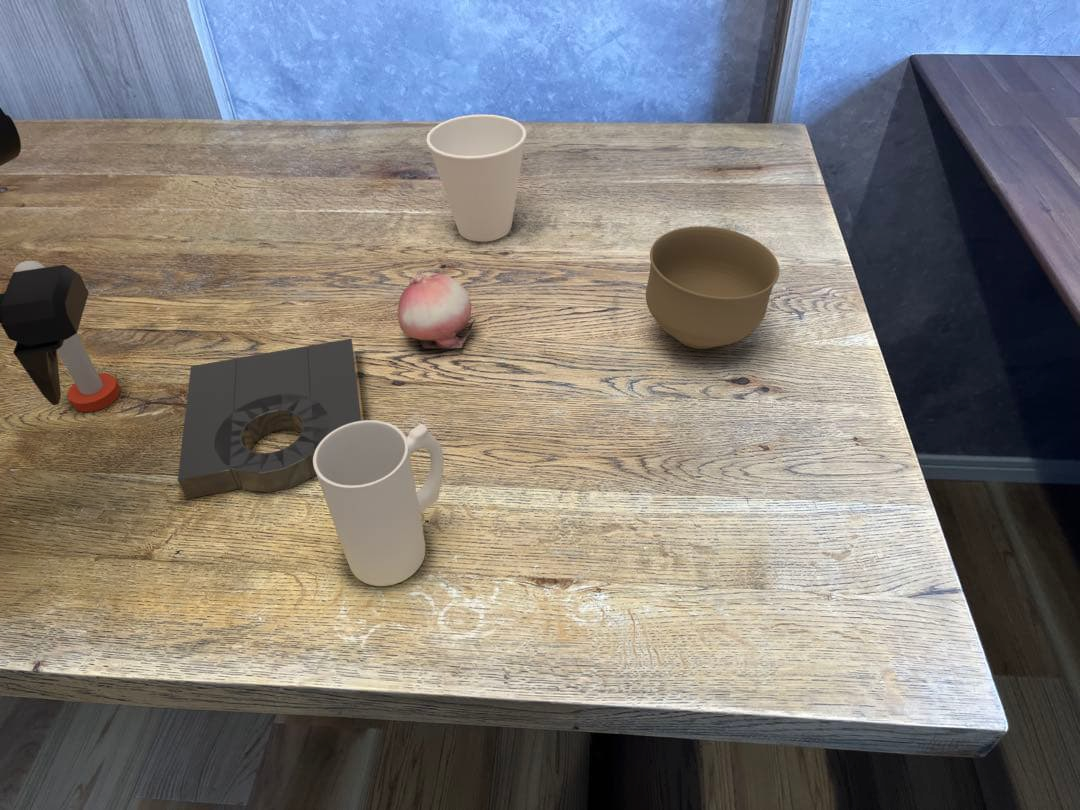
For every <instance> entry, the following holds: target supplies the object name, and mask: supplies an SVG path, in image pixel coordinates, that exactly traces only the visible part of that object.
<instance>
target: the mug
mask: <svg viewBox="0 0 1080 810" xmlns="http://www.w3.org/2000/svg"><path fill="white" fill-rule="evenodd" d="M420 449H425V450H426V451H427V453H428V454H429V460H430V464H429V471H428V475H427V477H426V480H425V481H424V483H423V484H422V486H421V488H420V489H418V490H417V487H416V482H415V476H414V470H413V469H414V468H413V464H412V458H411V457H412V455H413V454H414V453H415V452H416V451H417V450H420ZM444 460H445V458H444V452H443V448H442V445H441V444H440V442H439V441H438V440H437V439H436V437H435V436H434V435H433V434H432V433H431V432H429V430H428V426H426V425H425V424H423V423H419V424H418V425H416V426H415V427H414V428H412V429H411V430H410V431H409V433H408V435H407V436H406V435H405V433H404V432H403V431H402V430H401V429H400V428H399V427H397V426H396V425H394V424H392V423H390V422H386V421H383V420H376V419H374V420H373V419H367V420H366V419H365V420H364V421H357V422H353V423H349V424H346V425H344V426H341V427H339V428H337V429H336V430H334V431H332V432H331V433H330V434H328V435H327V436H326V437H325V438H324V439H323V440H322V441H321V442H320V443H319V445H318V446H317V448H316V450H315V453H314V456H313V466H314V469H315V472H316V477H317V480H318V483H319V486H320V489H321V492H322V495H323V497H324V501H325V503H326V506H327V509H328V511H329V515H330V517H331V520H332V522H333V525H334V527H335V531H336V534H337V537H338V540H339V542H340V546H341V548H342V551H343V553H344V556H345V559H346V561H347V563H348V566H349V569H350V571H351V572H352V574H353V575H354V577H355V578H356V579H358V580H359V581H361V582H362V583H363V584H364V583H365V584H367V585H370V586H373V587H374V586H375V587H388V586H393V585H396V584H399V583H401V582H404V581H406V580H407V579H409V578H410V577H412V576H413V575H414V574H415V573H416V572H417V571H418V570H419V569H420V567H421V566H422V565H423V562H424V560H425V558H426V557H425V556H426V541H425V534H424V529H423V522H422V514H423V513H424V512H425V510H426V509H428V508H430V507H431V506H432V505H434V504H435V503H437V501H438V500H439V497H440V496H439V495H440V491H441V486H442V481H443V474H444V466H445V464H444V463H445V461H444Z"/></svg>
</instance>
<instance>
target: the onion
mask: <svg viewBox="0 0 1080 810" xmlns="http://www.w3.org/2000/svg"><path fill="white" fill-rule="evenodd" d="M471 314H472V300H471V298H470V294H469V293H468V292H467V290H466V288H465V287H464V286H463V285H462V284H461V283H460V282H459V281H458V280H456V279H454V278H453V277H450V276H448V275H444V274H441V273H438V272H424V273H422V274H419V275H417V276H415V277H413V278H412V279H410V281H409V283H408V285H407V286H406V288H404V290H403V291H402V293H401V295H400V296H399V300H398V305H397V320H398V326H399V328H400V330H401V332H402V333H404V334H405V336H408V337H409V338H413V339H416V340H419V341H420V343H421V345H422V348H423V349H461V348H462V347H463V345H464V343H465V342H466V340H467V338H468V336H469V334H470V331H472V329H473V326H474V323H475V322H476V320H477V317H475V318H474V319H473V320H472V322H471V323H470V324H469V325H468V323H469V321H470V318H471V316H472V315H471ZM466 327H467V329H468V331H467V334H466V335H465V336H464V337H463V336H460V337H459V336H457V334H458V333H460V332H461V331H464V330H463V329H465V328H466Z"/></svg>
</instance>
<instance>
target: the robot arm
mask: <svg viewBox="0 0 1080 810" xmlns="http://www.w3.org/2000/svg"><path fill="white" fill-rule="evenodd" d="M15 124H16V123H14V121H13V119H12V117H11V116H10V115H8V114H6V113H5V112H4V110H3V109H2V108H1V107H0V167H2V166H3V165H6V164H7V163H9V162H11V161H13V160H15V159H16V158H18V157H19V155H20V154H21V152H22V151H21V150H22V143H21V136H20V134H19V131H18V128H17V126H16V125H15ZM88 297H89V290H88V288H87V286H86V284H85V282H84V280H83V278H82V275H81V274H80V273H79V272H77V271H76V270H74V269H73V268H71V267H69V266H68V265H65V264H60V265H53V266H45V268H38V269H32V270H25V271H18V272H14V271H13V273H12V274H11V278H10V279H9V282H8V284H7V285H6V289H5V290H4V292H3V293H0V324H1V328H2V329H3V331H4V333H5V334H6V336H7V337H8V339H9V340H11V341H14V342H16V344H15V346H14V348H13V352H12V353H13V354H14V356H15V358H16V359H17V360H18V362H19V363H20V365H21V366H22V367H23V369H24V371H25V372H26V374H28V376H29V377H30V378H31V380H32V382H33V383H34V385H35V386H36V388H37V389H38V391H39V392H40V394H41V395H42V396H43V398H45V399H46V401H48V402H49V403H50V404H51V405H52V406H58V405H60V401H61V398H62V395H61V394H62V393H61V383H60V381H61V380H60V370H59V359H58V351H57V349H59V348H60V347H61V346H62V345H63V342H64V340H66V339H68V338H70V337H72V336H73V335H75V334H76V333H77V334H78V331H79V327H80V325H81V322H82V321H81V320H82V317H83V314H84V311H85V308H86V304H87V300H88Z"/></svg>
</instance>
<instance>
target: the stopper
mask: <svg viewBox="0 0 1080 810" xmlns="http://www.w3.org/2000/svg"><path fill="white" fill-rule="evenodd" d="M45 267H46V266H45V265H44V264H42V263H41V262H40V261H39V262H38V261H36V260H25V261H22V262H20V263H18V264H17V265H16V266H15V267H14V270H13V272H18V271H25V270H32V269H38V268H45ZM57 354H58V355H59V357H60V359H61V360H62V362H63V364H64V366H65V367H66V369H67V371H68V373H69V375H70V377H71V379H72V380H73V382H74V383H73V384H72V385H71V386H70V387H69V389H68V390H67V396H66V397H67V399H68V401H69V402H70V404H71V406H72V407H73V409H75V411H78V412H82V413H93V412H97V411H101V410H103V409H105V408H107V407H109V406H110V405H112V404H114V403H115V401H116V400H117V399H118V398H119V397H120V395H121V387H120V384H119V383H118V381H117V379H116V377H115V376H113V375H112V374H109V373H106V372H105V373H101V372H100V373H98V371H97V369H96V367H95V365H94V363H93V362H92V359H91V358H90V356H89V354H88V352H87V350H86V347H85V346H84V344H83V342H82V340H81V338H80V337H79V335H78V332H77V333H76V334H75V335H73V336H72V337H70V338H68V339H66V340H64V342H63V345H62V346H61V347H60V348H59V349H57Z"/></svg>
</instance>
